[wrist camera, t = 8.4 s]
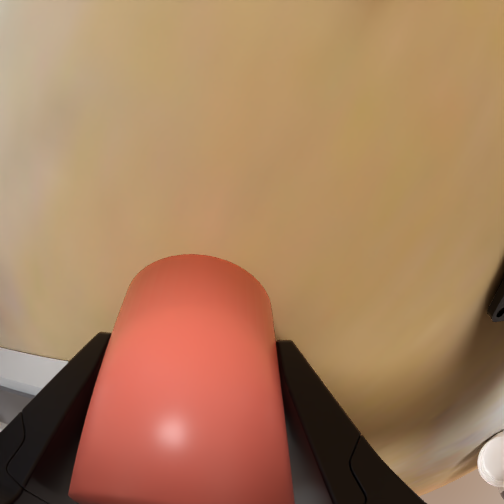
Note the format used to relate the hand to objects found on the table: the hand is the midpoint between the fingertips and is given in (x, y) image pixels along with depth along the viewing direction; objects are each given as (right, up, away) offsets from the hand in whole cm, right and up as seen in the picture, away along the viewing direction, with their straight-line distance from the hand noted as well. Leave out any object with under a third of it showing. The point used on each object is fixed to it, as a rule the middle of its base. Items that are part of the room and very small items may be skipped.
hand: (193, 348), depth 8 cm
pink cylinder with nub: (0, +1, +1) cm, 1 cm away
